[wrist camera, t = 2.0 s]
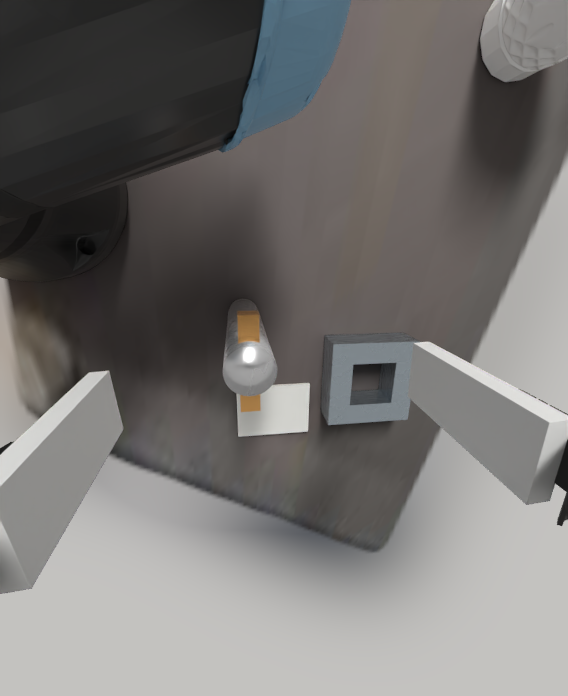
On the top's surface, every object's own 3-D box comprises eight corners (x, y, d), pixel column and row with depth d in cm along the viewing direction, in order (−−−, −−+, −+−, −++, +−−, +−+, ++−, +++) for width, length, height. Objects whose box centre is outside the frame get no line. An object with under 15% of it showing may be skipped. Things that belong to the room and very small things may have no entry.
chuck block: (320, 409, 36) (328, 425, 33) (324, 335, 33) (333, 344, 30) (393, 405, 38) (407, 419, 35) (403, 332, 35) (419, 341, 32)
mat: (238, 434, 36) (238, 436, 35) (236, 386, 34) (236, 388, 33) (307, 429, 37) (307, 431, 37) (308, 383, 35) (309, 384, 35)
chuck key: (229, 342, 32) (225, 421, 18) (226, 283, 30) (219, 319, 16) (258, 341, 33) (276, 417, 19) (258, 283, 31) (277, 318, 17)
